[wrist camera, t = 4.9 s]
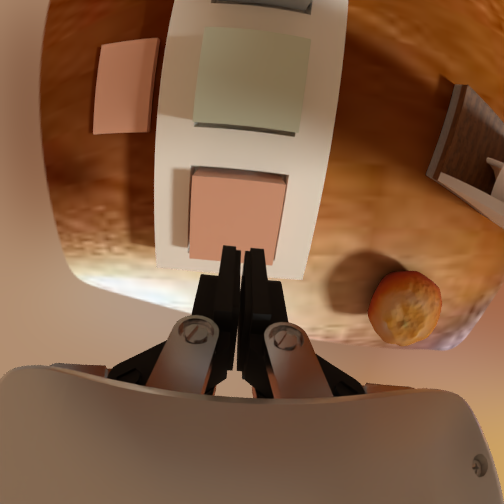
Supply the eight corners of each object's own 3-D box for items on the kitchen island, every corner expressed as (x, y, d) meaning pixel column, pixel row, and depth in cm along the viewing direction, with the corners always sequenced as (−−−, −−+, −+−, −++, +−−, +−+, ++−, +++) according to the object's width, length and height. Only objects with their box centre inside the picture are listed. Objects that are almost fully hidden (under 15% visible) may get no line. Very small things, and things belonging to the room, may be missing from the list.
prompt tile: (106, 46, 15) (101, 45, 15) (160, 40, 16) (157, 37, 15) (97, 133, 19) (93, 134, 18) (150, 131, 19) (146, 132, 19)
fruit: (420, 323, 29) (419, 366, 22) (366, 302, 32) (354, 341, 25) (448, 267, 25) (459, 303, 19) (388, 244, 28) (385, 274, 22)
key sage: (210, 40, 14) (204, 26, 11) (300, 50, 14) (311, 39, 12) (200, 121, 17) (192, 122, 14) (289, 130, 17) (298, 132, 14)
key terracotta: (199, 166, 20) (192, 175, 17) (279, 174, 20) (285, 184, 17) (195, 239, 22) (189, 258, 19) (268, 245, 23) (272, 265, 20)
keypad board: (199, -51, 11) (194, -69, 8) (338, -34, 12) (349, -49, 9) (165, 249, 24) (156, 267, 21) (295, 260, 25) (302, 279, 23)
